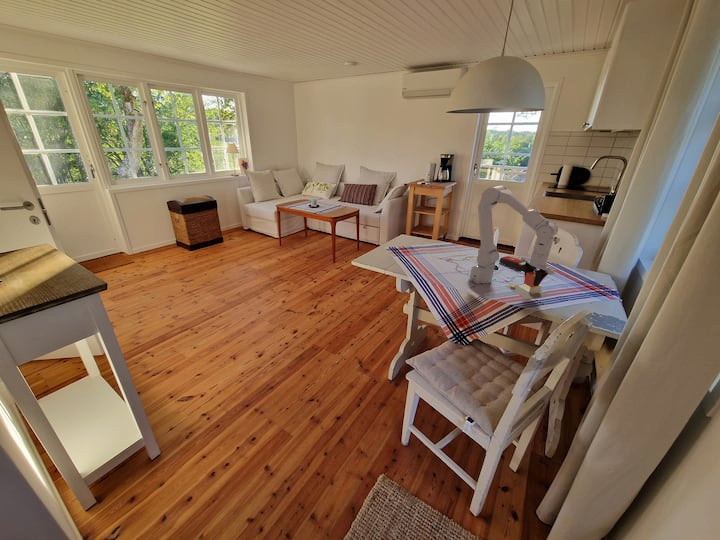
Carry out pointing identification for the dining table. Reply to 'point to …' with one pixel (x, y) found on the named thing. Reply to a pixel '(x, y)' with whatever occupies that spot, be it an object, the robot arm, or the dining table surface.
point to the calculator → (513, 262)
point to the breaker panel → (526, 291)
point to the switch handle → (535, 289)
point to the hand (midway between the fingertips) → (531, 283)
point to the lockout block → (530, 279)
